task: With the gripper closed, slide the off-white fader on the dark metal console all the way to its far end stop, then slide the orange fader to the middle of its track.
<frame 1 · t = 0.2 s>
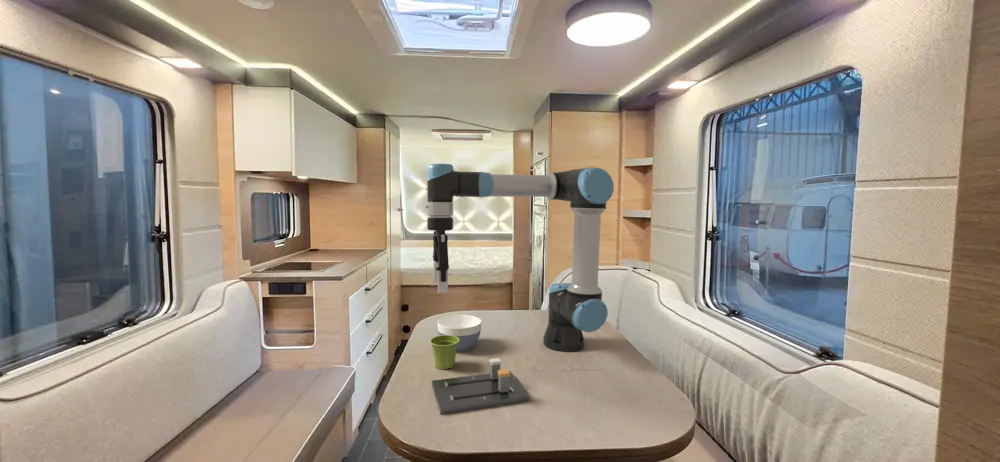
hand: (440, 287, 121), 28 cm above the table, fingers open, 13 cm apart
bowl: (459, 347, 147), on the table
console: (478, 393, 113), on the table
fader orange: (503, 381, 110), point 5 cm above the table, slide at 0.0 cm
fader white: (495, 368, 118), point 5 cm above the table, slide at 0.0 cm
plant pot: (444, 366, 130), on the table
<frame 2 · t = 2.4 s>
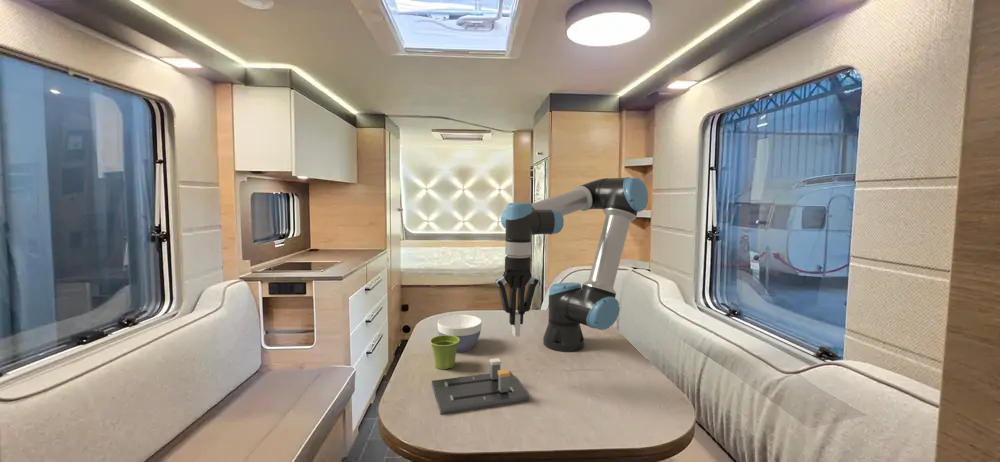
hand: (515, 334, 119), 14 cm above the table, fingers closed
nothing on the table moved.
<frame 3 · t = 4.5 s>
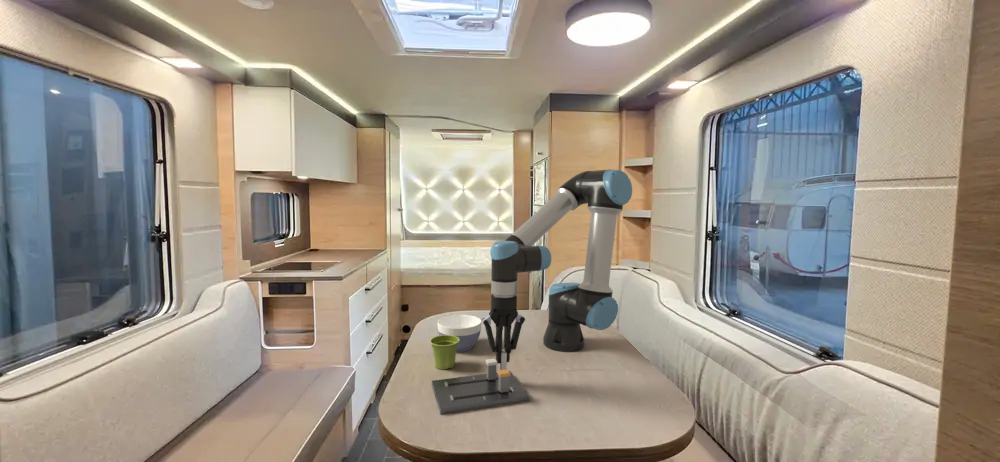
hand: (502, 372, 119), 3 cm above the table, fingers closed
fader white: (491, 369, 118), point 5 cm above the table, slide at 1.2 cm, touching gripper
everything else where it was.
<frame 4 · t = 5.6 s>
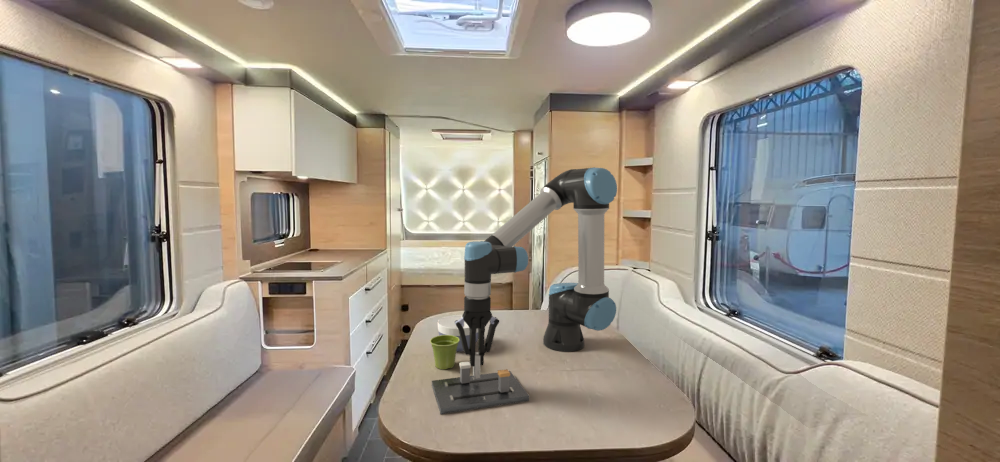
hand: (476, 376, 116), 3 cm above the table, fingers closed
fader white: (464, 372, 115), point 5 cm above the table, slide at 9.1 cm, touching gripper
everything else where it was.
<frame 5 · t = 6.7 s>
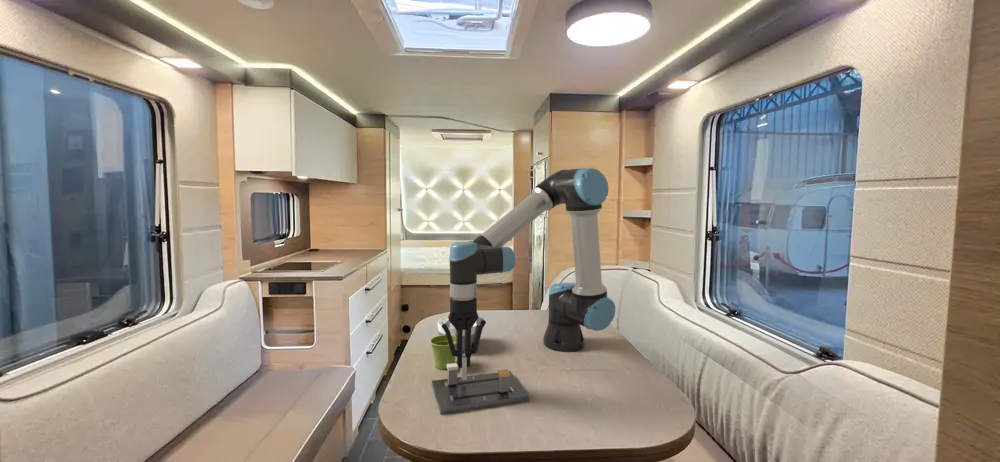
hand: (463, 377, 115), 3 cm above the table, fingers closed
fader white: (452, 374, 114), point 5 cm above the table, slide at 12.7 cm, touching gripper
everything else where it was.
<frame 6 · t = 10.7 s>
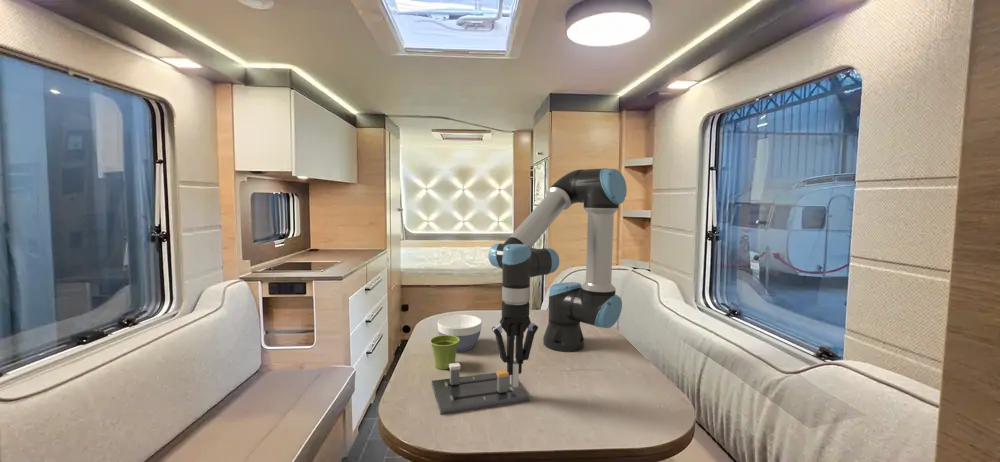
hand: (514, 384, 111), 3 cm above the table, fingers closed
fader orange: (502, 381, 110), point 5 cm above the table, slide at 0.4 cm, touching gripper
fader white: (454, 373, 114), point 5 cm above the table, slide at 12.1 cm
everything else where it was.
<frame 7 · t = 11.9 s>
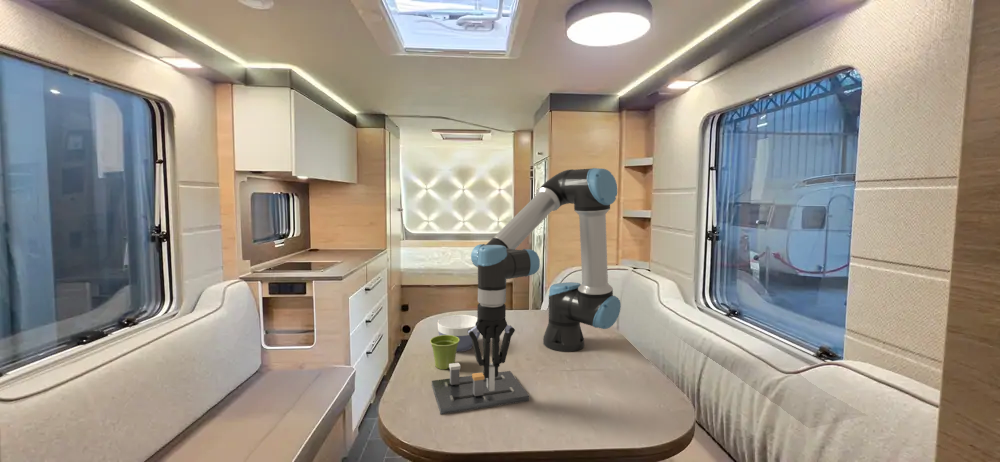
hand: (490, 388, 109), 3 cm above the table, fingers closed
fader orange: (478, 384, 108), point 5 cm above the table, slide at 7.2 cm, touching gripper
everything else where it was.
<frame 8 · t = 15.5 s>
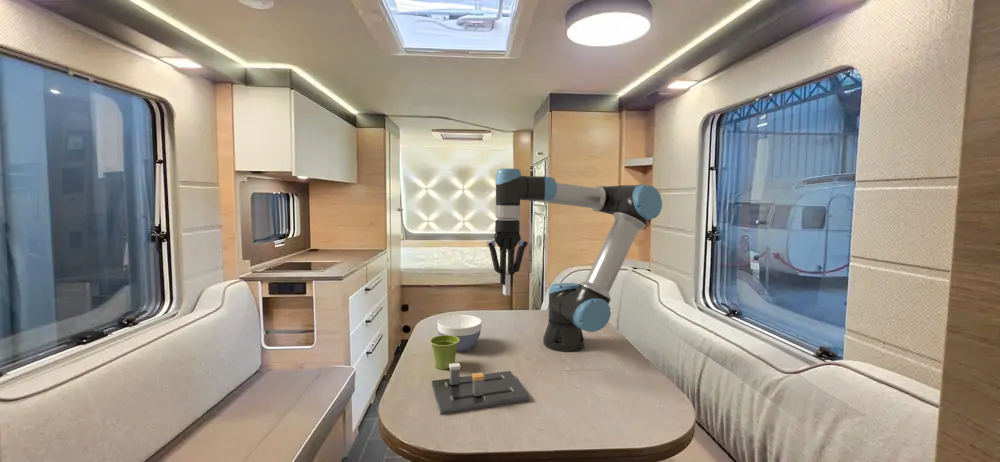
hand: (506, 294, 126), 24 cm above the table, fingers closed
fader orange: (477, 384, 108), point 5 cm above the table, slide at 7.3 cm
everything else where it was.
at the end: fader white slide at 12.1 cm; fader orange slide at 7.3 cm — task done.
